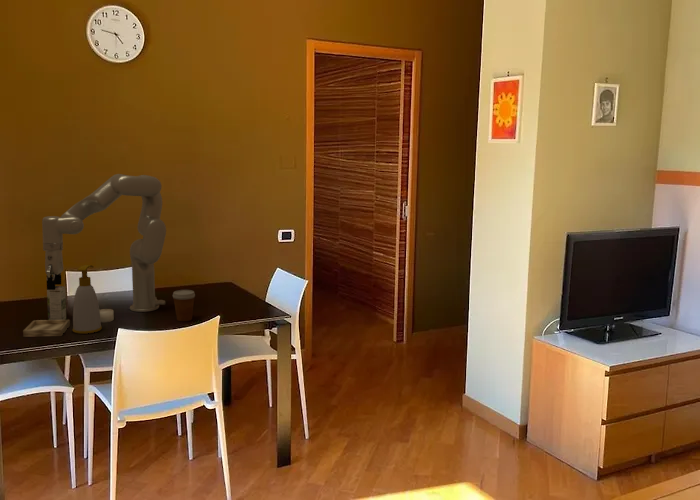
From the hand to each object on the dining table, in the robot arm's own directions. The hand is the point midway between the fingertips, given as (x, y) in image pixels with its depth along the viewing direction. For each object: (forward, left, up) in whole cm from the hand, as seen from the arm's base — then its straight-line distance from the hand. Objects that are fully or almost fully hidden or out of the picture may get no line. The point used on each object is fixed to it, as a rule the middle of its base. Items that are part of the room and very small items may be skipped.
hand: (54, 287), depth 282 cm
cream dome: (-20, 0, -15) cm, 24 cm away
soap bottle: (-15, +14, -15) cm, 26 cm away
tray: (0, +14, -15) cm, 20 cm away
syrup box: (-1, 0, -15) cm, 15 cm away
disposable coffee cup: (-53, +2, -15) cm, 55 cm away
